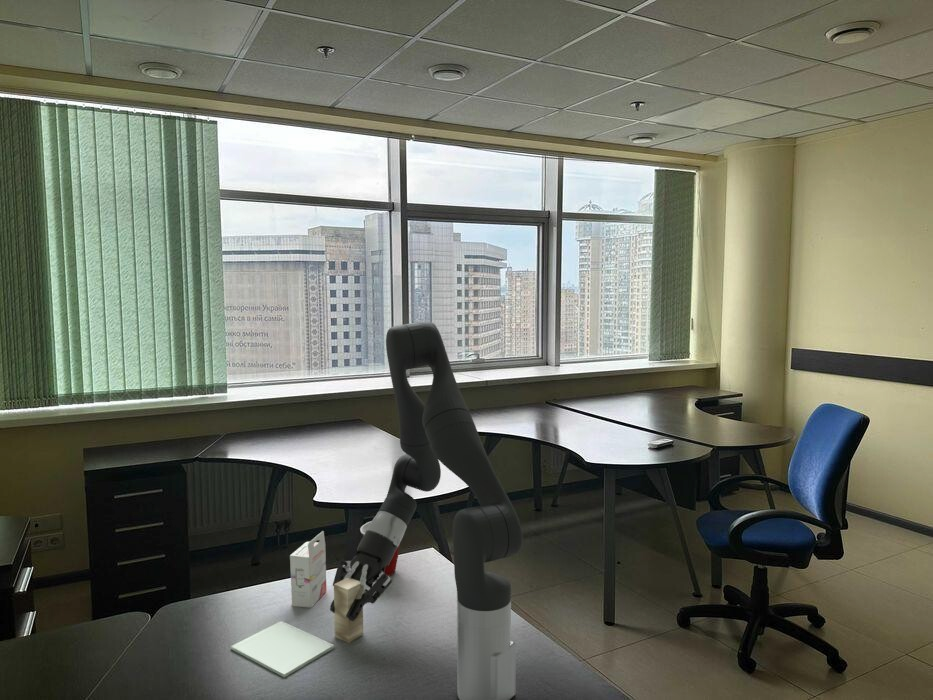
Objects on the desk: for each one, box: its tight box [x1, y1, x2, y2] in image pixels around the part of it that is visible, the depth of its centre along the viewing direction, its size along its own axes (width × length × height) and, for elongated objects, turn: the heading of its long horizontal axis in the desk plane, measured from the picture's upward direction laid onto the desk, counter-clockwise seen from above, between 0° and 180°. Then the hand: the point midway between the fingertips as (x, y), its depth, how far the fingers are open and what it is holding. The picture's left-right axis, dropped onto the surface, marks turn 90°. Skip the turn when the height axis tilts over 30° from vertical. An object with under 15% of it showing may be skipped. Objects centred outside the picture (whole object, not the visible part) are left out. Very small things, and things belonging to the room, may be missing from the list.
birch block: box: [333, 578, 364, 644], centre depth 131 cm, size 4×4×11 cm
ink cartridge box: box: [289, 530, 327, 609], centre depth 147 cm, size 9×5×15 cm, turn 168°
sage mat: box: [230, 620, 335, 678], centre depth 127 cm, size 16×12×1 cm
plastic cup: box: [359, 520, 401, 577], centre depth 161 cm, size 11×11×12 cm
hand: (341, 615), depth 130 cm, fingers closed on birch block, 4 cm apart
